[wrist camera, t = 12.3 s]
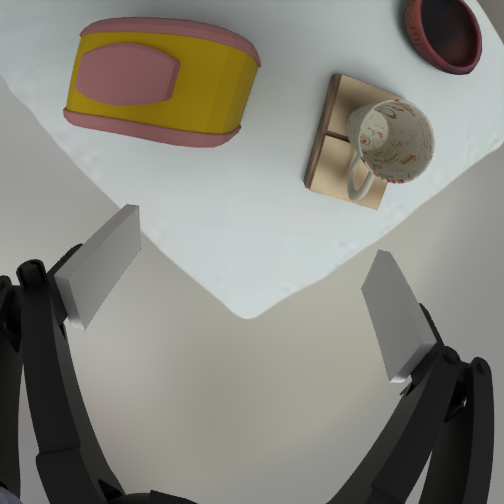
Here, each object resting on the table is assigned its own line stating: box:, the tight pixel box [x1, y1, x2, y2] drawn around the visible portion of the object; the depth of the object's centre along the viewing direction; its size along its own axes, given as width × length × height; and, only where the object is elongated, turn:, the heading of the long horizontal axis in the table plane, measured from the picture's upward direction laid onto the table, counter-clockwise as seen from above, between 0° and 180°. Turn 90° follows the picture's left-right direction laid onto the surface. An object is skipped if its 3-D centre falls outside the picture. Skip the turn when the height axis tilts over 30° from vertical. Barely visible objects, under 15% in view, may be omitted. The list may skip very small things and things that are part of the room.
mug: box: [346, 99, 435, 201], centre depth 27 cm, size 8×13×10 cm, turn 163°
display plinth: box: [303, 74, 408, 210], centre depth 33 cm, size 16×11×4 cm
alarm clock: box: [63, 17, 261, 147], centre depth 24 cm, size 18×11×19 cm, turn 73°
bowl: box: [405, 0, 482, 75], centre depth 20 cm, size 16×13×8 cm
